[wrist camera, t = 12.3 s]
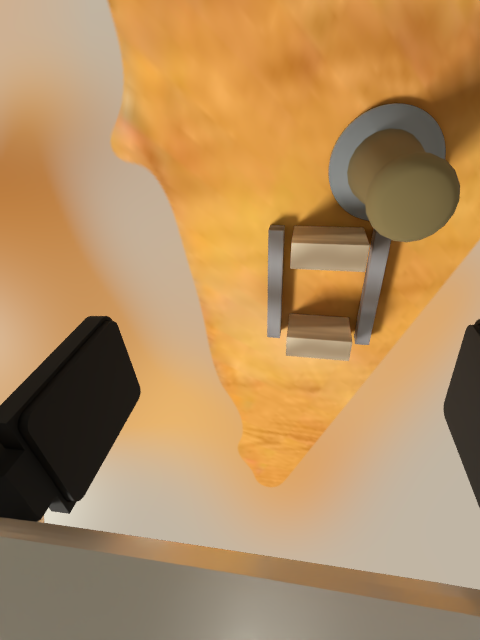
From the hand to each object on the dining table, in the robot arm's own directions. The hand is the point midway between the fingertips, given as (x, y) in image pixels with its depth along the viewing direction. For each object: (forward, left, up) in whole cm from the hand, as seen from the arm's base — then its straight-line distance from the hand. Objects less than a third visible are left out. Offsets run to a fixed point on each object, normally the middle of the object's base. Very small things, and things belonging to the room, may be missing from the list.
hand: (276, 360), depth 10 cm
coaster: (0, +7, -26) cm, 27 cm away
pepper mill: (0, +7, -25) cm, 26 cm away
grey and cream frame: (+11, +3, -26) cm, 28 cm away
